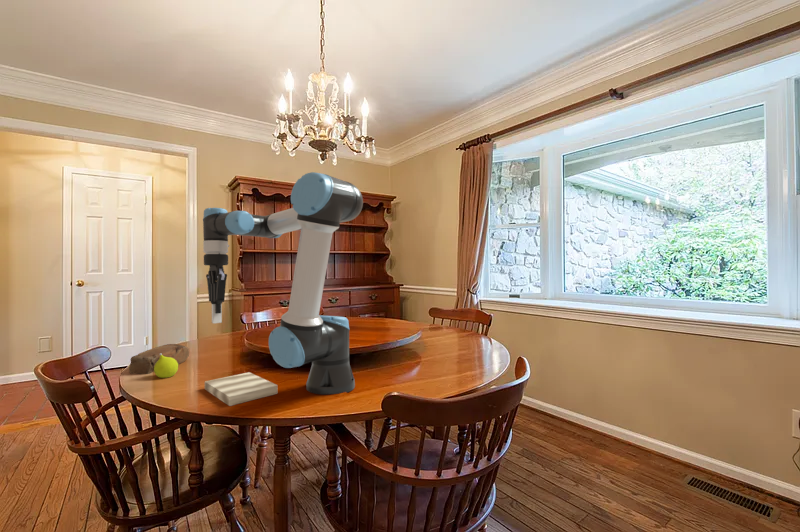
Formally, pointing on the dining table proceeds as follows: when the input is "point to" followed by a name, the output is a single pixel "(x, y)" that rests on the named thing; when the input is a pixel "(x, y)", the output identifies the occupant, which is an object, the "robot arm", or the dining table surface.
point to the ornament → (165, 367)
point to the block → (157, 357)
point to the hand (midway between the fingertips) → (216, 322)
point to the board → (240, 388)
